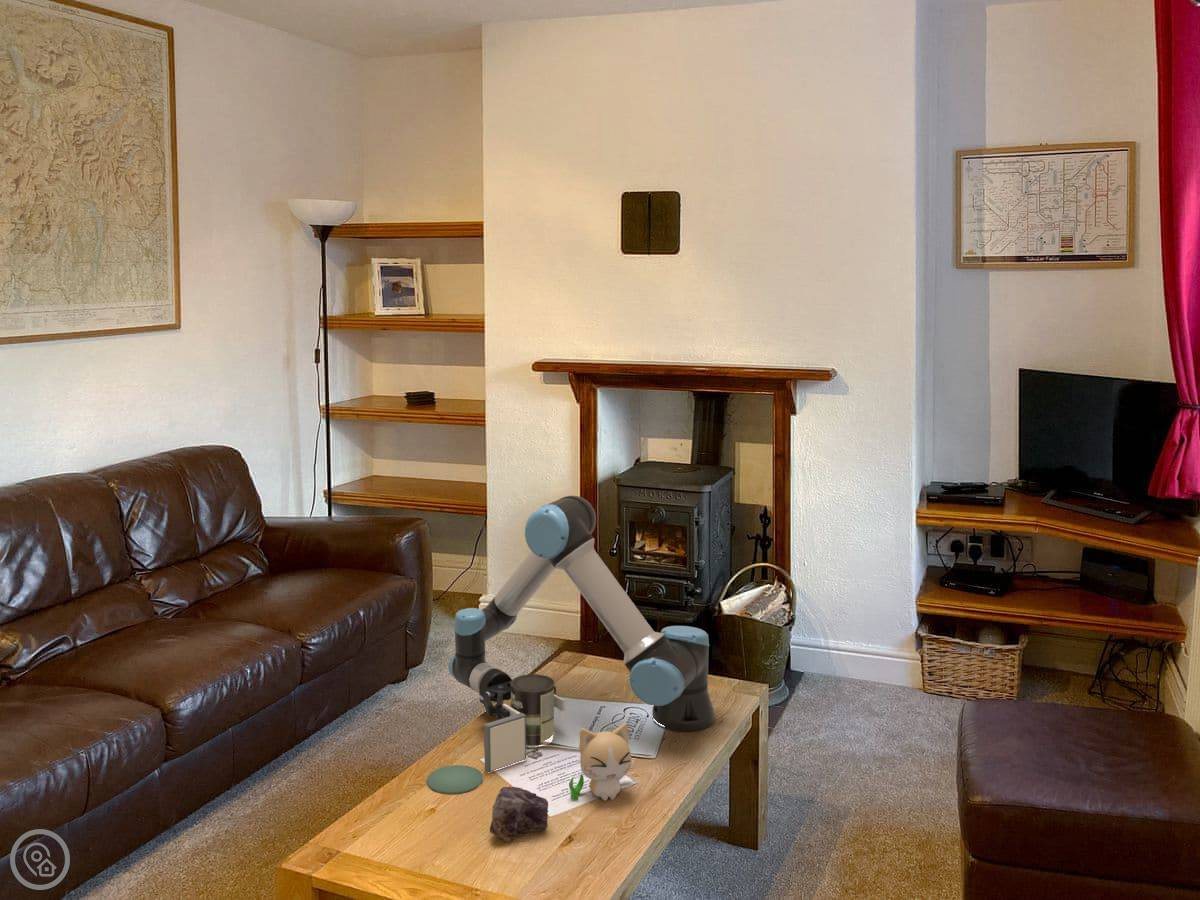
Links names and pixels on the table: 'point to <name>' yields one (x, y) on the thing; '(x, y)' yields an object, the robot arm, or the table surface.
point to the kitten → (603, 761)
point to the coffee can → (534, 706)
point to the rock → (518, 813)
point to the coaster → (454, 779)
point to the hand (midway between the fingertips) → (541, 712)
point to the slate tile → (505, 742)
